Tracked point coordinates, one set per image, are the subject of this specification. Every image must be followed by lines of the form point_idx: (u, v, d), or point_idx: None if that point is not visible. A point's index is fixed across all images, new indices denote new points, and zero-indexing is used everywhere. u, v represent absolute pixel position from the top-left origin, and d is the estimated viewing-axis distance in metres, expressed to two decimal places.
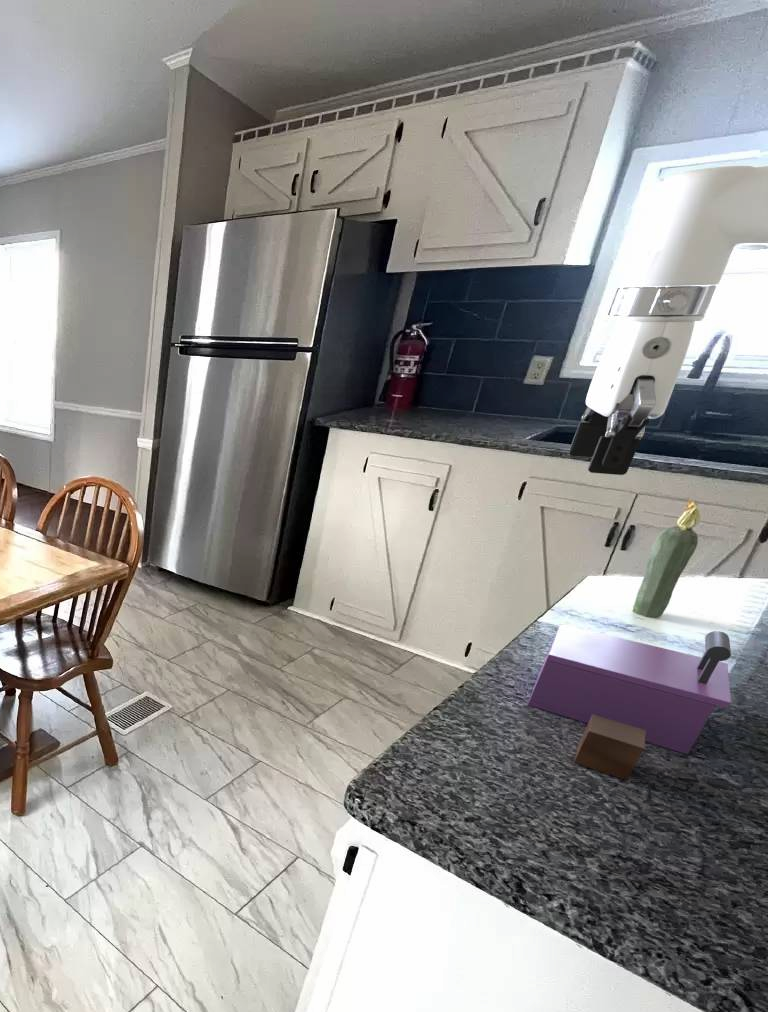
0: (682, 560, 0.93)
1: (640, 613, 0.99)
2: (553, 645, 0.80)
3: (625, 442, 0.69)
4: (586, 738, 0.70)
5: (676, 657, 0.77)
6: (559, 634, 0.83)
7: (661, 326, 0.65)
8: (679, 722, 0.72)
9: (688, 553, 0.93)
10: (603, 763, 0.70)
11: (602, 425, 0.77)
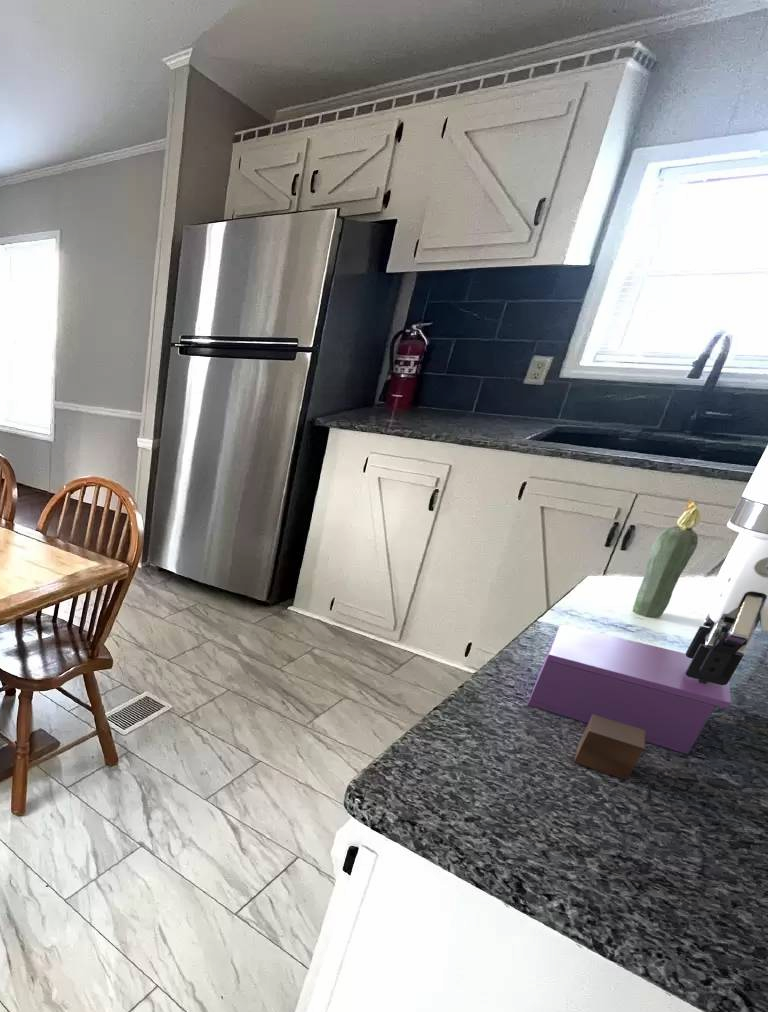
0: (682, 560, 0.93)
1: (640, 613, 0.99)
2: (553, 645, 0.80)
3: (724, 656, 0.69)
4: (586, 738, 0.70)
5: (676, 657, 0.77)
6: (559, 634, 0.83)
7: None
8: (679, 722, 0.72)
9: (688, 553, 0.93)
10: (603, 763, 0.70)
11: None
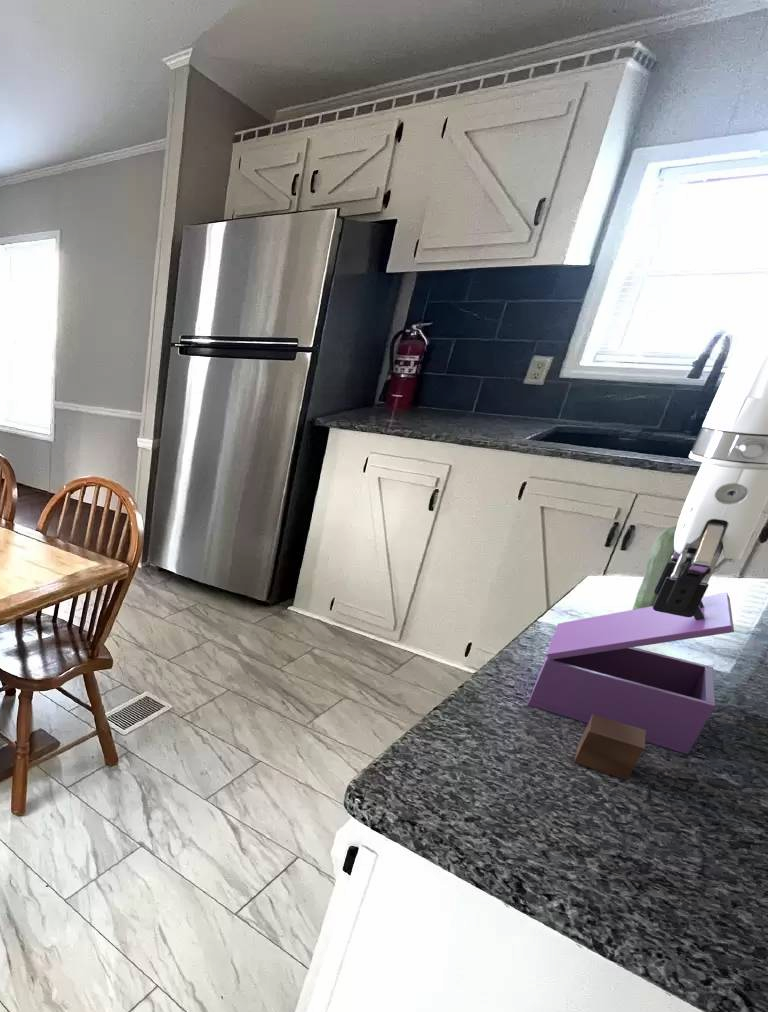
0: None
1: None
2: (551, 644, 0.81)
3: (689, 587, 0.69)
4: (586, 738, 0.70)
5: None
6: (557, 633, 0.83)
7: (737, 473, 0.64)
8: (679, 722, 0.72)
9: None
10: (603, 763, 0.70)
11: None
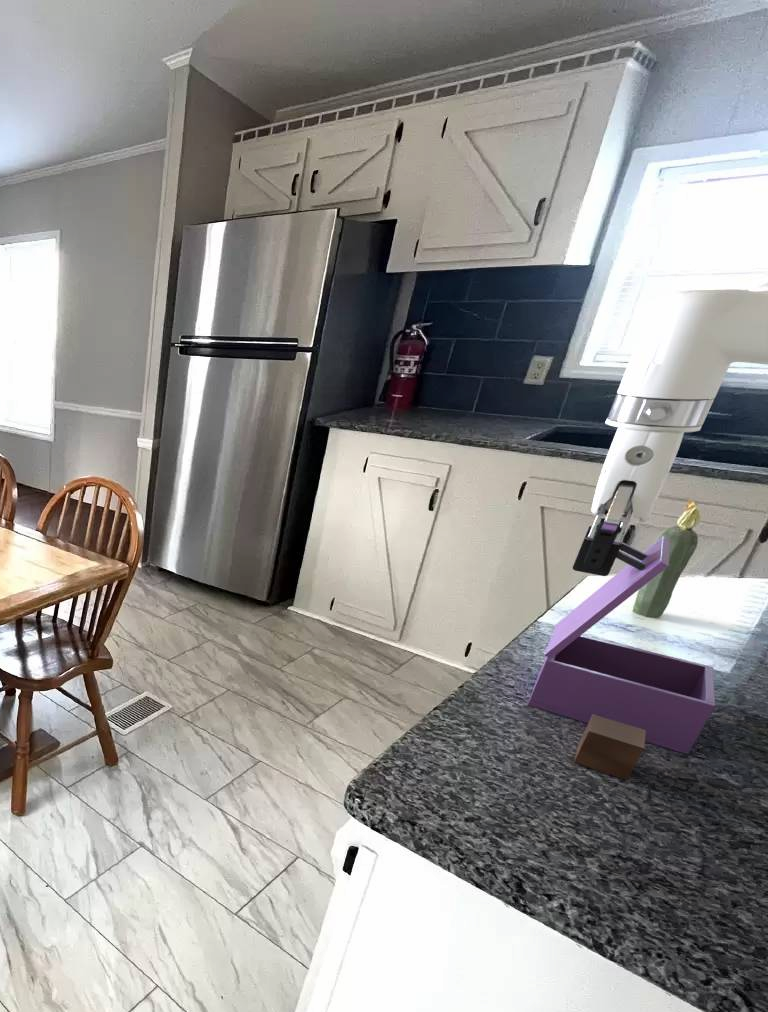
0: (682, 560, 0.93)
1: (640, 613, 0.99)
2: (548, 645, 0.81)
3: (604, 546, 0.73)
4: (586, 738, 0.70)
5: (629, 567, 0.78)
6: (554, 632, 0.83)
7: (644, 435, 0.68)
8: (679, 722, 0.72)
9: (688, 553, 0.93)
10: (603, 763, 0.70)
11: None
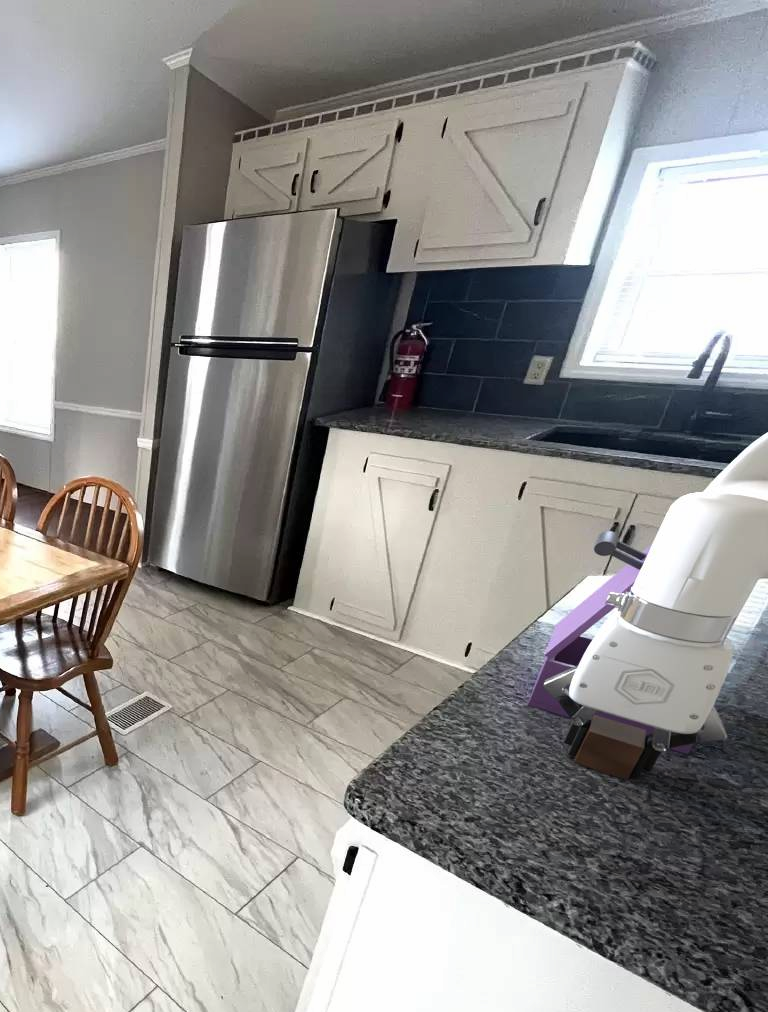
0: None
1: None
2: (548, 645, 0.81)
3: (572, 722, 0.72)
4: (586, 738, 0.70)
5: (628, 566, 0.78)
6: (554, 632, 0.83)
7: (607, 619, 0.67)
8: None
9: None
10: (603, 763, 0.70)
11: None
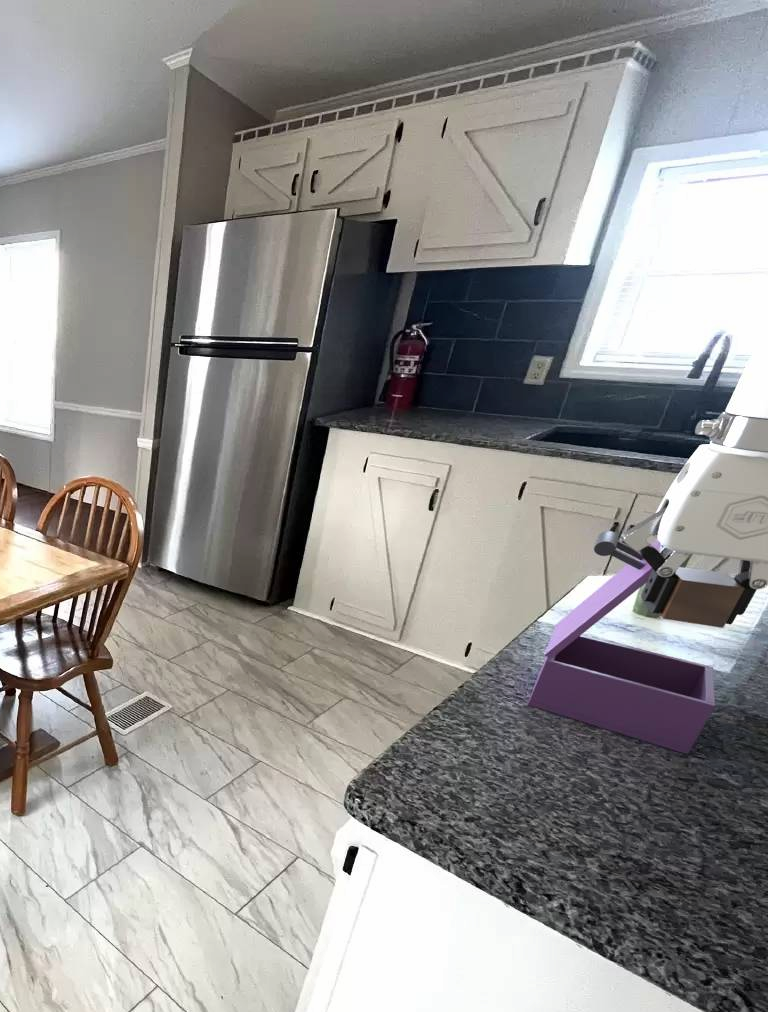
0: None
1: (640, 613, 0.99)
2: (548, 645, 0.81)
3: (654, 576, 0.66)
4: (678, 589, 0.64)
5: (628, 566, 0.78)
6: (554, 632, 0.83)
7: (697, 451, 0.61)
8: (679, 722, 0.72)
9: None
10: (696, 613, 0.64)
11: None
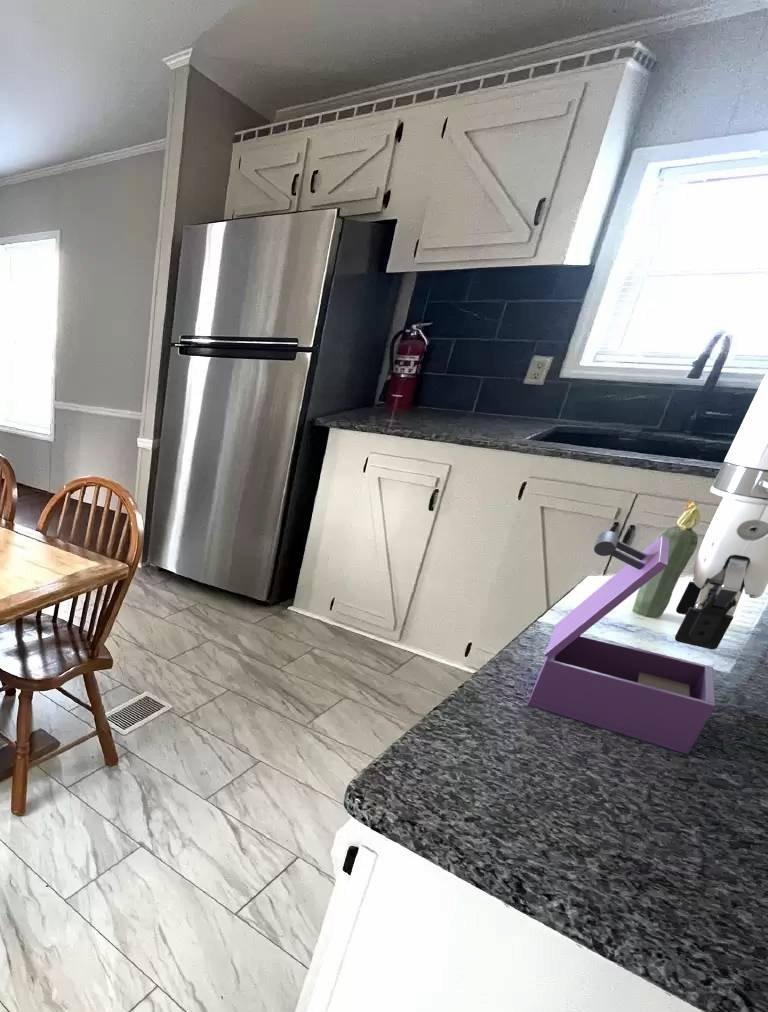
0: (682, 560, 0.93)
1: (640, 613, 0.99)
2: (548, 645, 0.81)
3: (713, 618, 0.67)
4: None
5: (628, 566, 0.78)
6: (554, 632, 0.83)
7: (759, 509, 0.64)
8: (679, 722, 0.72)
9: (688, 553, 0.93)
10: None
11: None
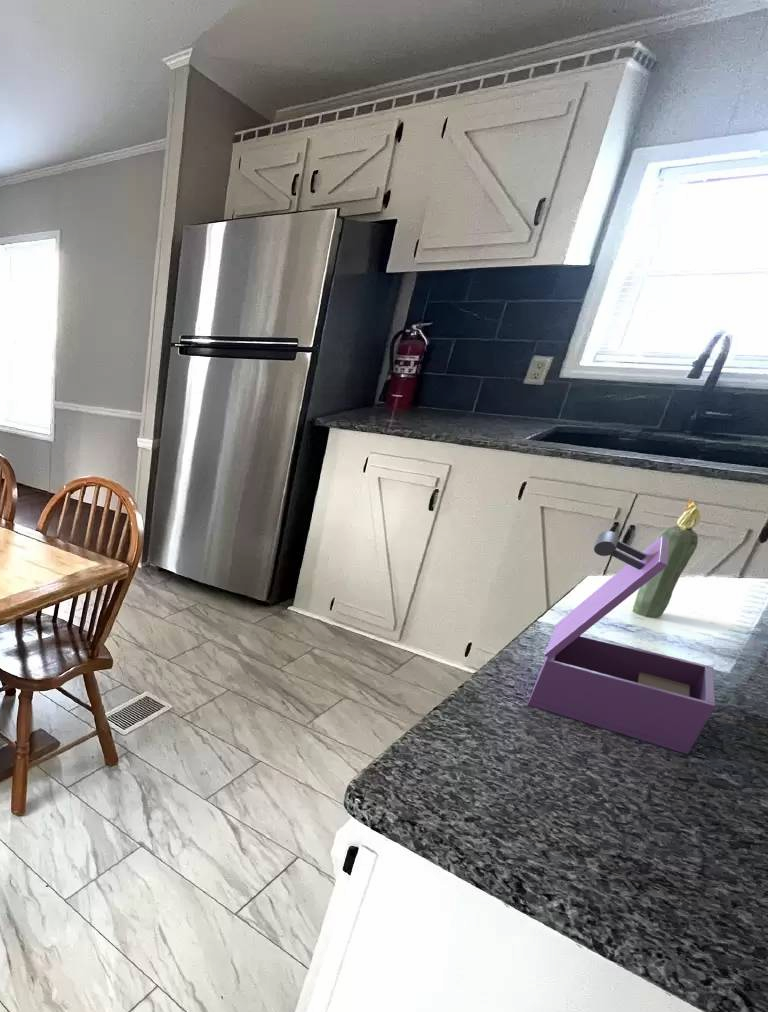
0: (682, 560, 0.93)
1: (640, 613, 0.99)
2: (548, 645, 0.81)
3: None
4: None
5: (628, 566, 0.78)
6: (554, 632, 0.83)
7: None
8: (679, 722, 0.72)
9: (688, 553, 0.93)
10: None
11: None
